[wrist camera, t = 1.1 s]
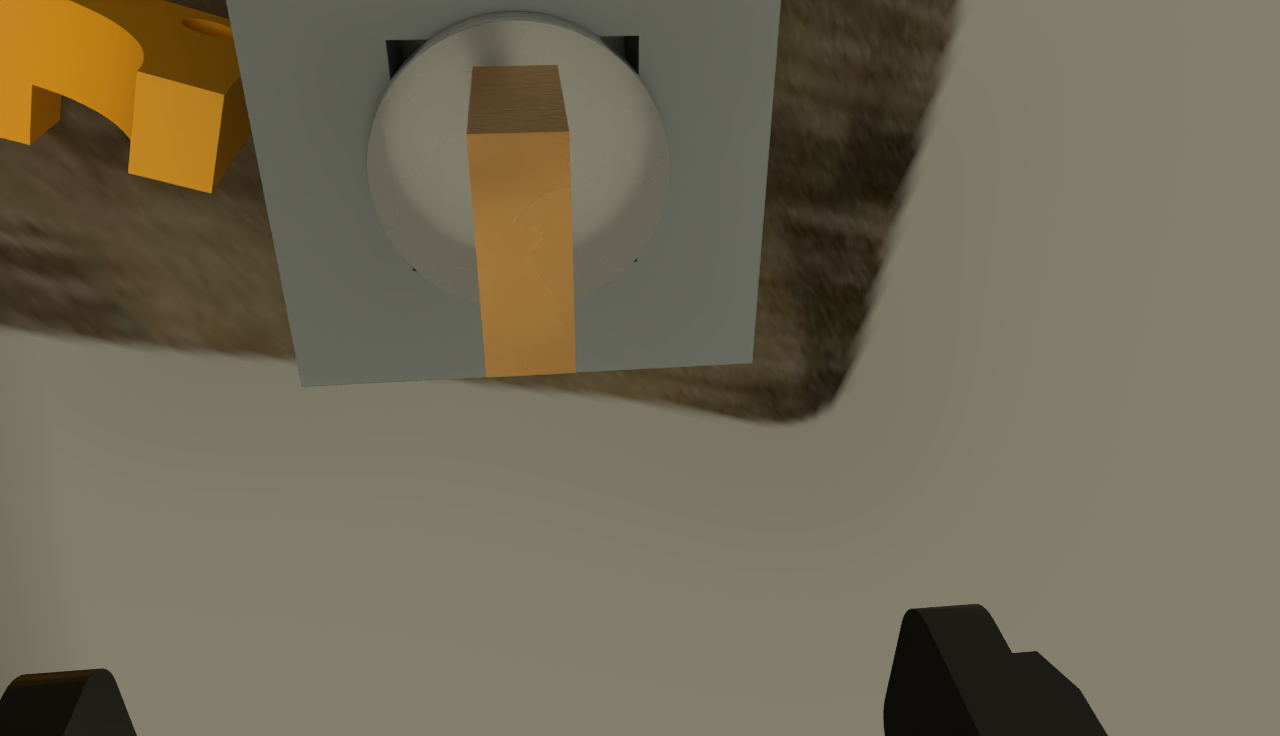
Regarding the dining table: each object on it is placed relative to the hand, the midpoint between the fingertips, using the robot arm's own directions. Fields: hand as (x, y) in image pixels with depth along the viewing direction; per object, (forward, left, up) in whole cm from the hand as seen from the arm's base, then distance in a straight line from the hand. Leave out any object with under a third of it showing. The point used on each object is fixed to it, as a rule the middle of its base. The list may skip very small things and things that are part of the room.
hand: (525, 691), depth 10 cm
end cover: (0, 0, -19) cm, 19 cm away
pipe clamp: (-1, -13, -24) cm, 28 cm away
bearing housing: (0, 0, -24) cm, 24 cm away
